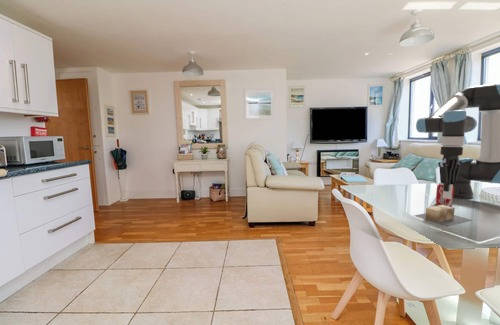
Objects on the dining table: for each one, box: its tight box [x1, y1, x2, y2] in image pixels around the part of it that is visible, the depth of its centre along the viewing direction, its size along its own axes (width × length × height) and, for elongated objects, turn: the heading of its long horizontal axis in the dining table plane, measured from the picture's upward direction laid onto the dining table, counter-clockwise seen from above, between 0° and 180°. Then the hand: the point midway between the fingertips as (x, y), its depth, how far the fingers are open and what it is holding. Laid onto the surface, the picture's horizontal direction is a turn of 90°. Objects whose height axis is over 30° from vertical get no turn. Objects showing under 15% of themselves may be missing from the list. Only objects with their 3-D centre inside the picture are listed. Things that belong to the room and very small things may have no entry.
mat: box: [413, 212, 473, 227], centre depth 108 cm, size 18×14×1 cm
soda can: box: [435, 182, 454, 207], centre depth 127 cm, size 7×7×12 cm
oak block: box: [424, 205, 455, 223], centre depth 107 cm, size 5×5×11 cm
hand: (447, 198), depth 108 cm, fingers closed
